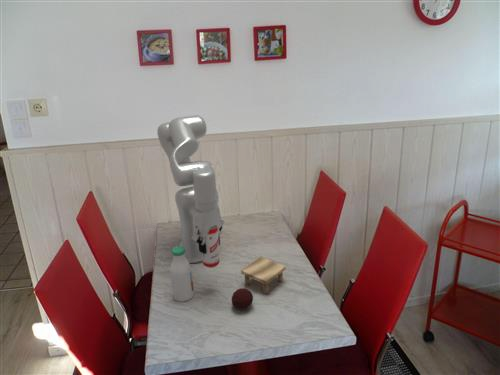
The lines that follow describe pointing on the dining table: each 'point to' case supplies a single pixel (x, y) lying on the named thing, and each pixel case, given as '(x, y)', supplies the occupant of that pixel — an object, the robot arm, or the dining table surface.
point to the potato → (242, 298)
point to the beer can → (211, 249)
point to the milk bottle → (181, 275)
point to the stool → (263, 272)
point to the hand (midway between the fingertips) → (209, 247)
